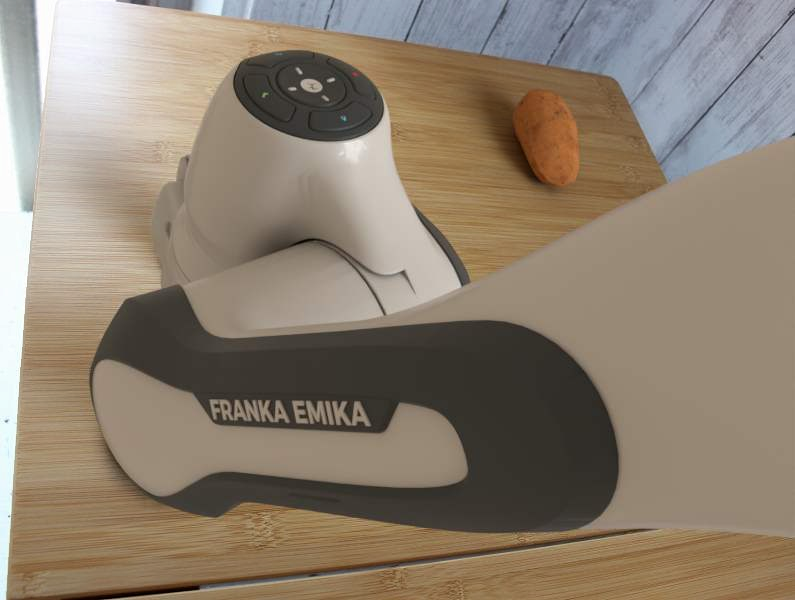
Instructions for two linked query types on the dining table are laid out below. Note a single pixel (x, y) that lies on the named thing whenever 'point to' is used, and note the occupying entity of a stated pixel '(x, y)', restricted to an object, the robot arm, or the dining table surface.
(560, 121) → the potato
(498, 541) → the dining table surface
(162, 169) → the dining table surface
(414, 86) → the dining table surface
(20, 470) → the dining table surface
